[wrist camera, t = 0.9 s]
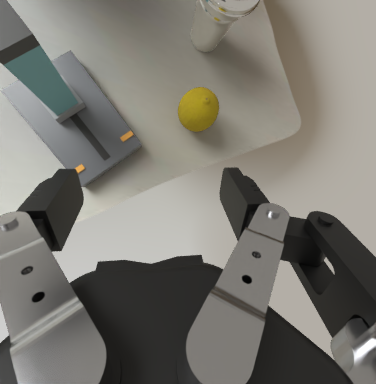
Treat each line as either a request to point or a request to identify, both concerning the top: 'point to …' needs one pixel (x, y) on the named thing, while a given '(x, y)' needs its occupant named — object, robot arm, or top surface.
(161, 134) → the top surface
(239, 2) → the cup with straw
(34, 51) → the slider tab
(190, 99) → the lemon
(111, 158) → the slider track
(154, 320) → the robot arm
